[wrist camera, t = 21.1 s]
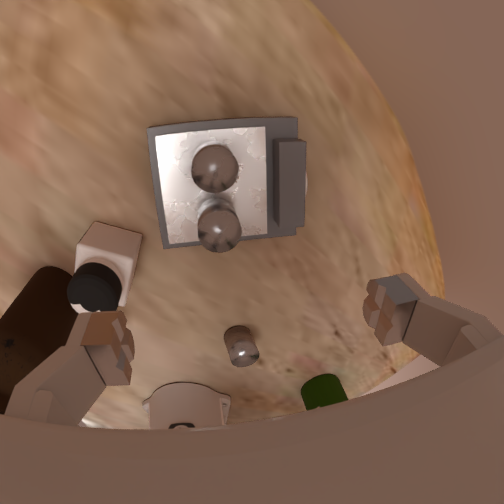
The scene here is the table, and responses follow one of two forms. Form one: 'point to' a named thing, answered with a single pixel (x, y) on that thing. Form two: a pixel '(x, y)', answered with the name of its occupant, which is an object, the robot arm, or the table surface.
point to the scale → (277, 172)
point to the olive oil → (34, 328)
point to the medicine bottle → (103, 268)
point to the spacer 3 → (241, 346)
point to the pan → (192, 197)
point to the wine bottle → (322, 392)
